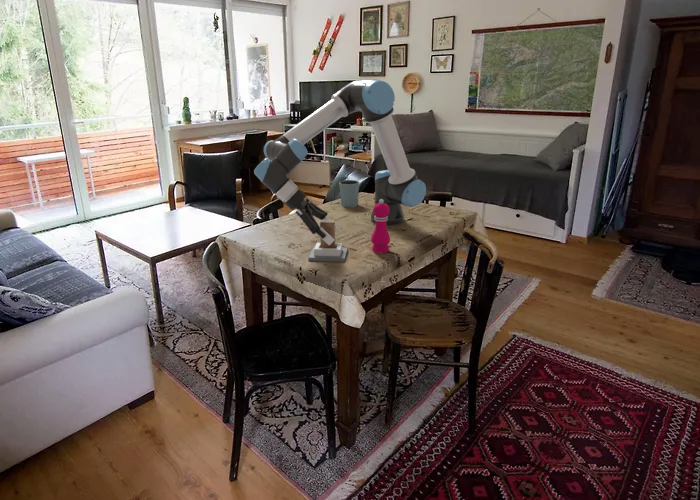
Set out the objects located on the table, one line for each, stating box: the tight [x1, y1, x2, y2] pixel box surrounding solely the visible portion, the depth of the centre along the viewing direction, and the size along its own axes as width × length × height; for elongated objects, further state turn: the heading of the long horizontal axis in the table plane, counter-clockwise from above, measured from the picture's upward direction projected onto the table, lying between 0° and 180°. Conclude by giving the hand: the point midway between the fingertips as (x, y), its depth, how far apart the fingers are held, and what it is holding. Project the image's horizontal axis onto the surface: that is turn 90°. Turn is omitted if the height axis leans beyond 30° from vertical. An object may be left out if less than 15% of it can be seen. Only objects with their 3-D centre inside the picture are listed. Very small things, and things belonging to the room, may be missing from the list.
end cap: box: [308, 242, 348, 263], centre depth 172 cm, size 13×11×4 cm
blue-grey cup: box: [338, 179, 360, 208], centre depth 237 cm, size 10×10×12 cm
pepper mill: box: [370, 199, 391, 254], centre depth 174 cm, size 7×7×20 cm
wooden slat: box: [319, 219, 336, 248], centre depth 170 cm, size 5×2×12 cm, turn 85°
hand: (334, 236), depth 169 cm, fingers open, 13 cm apart
